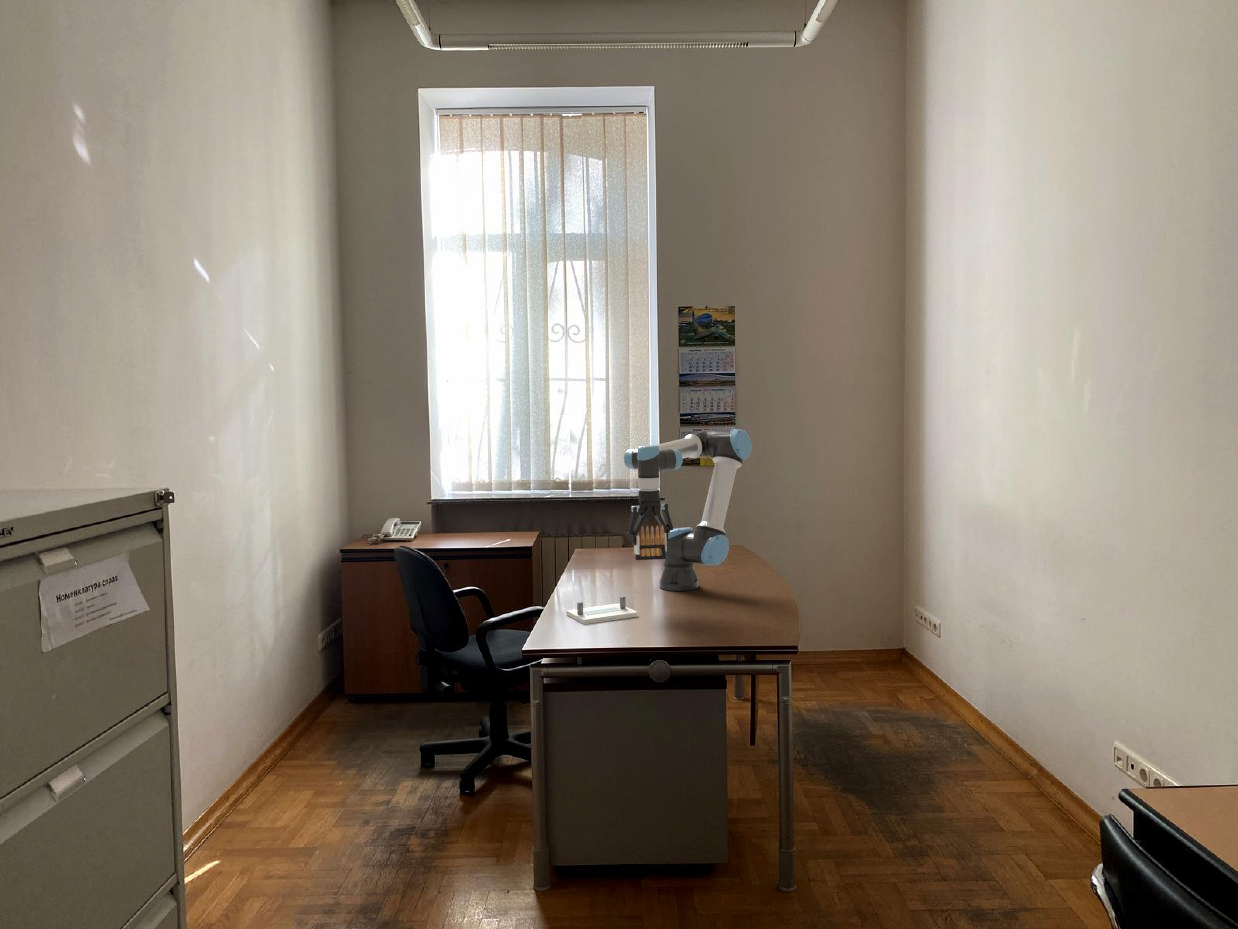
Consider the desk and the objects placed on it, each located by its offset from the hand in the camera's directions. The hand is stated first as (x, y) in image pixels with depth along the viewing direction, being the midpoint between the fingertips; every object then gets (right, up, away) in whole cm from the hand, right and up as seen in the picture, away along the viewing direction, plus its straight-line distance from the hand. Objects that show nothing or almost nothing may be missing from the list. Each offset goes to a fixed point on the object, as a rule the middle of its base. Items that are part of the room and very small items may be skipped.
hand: (650, 552), depth 302 cm
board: (-17, -21, -9) cm, 28 cm away
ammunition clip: (0, -3, 0) cm, 3 cm away
